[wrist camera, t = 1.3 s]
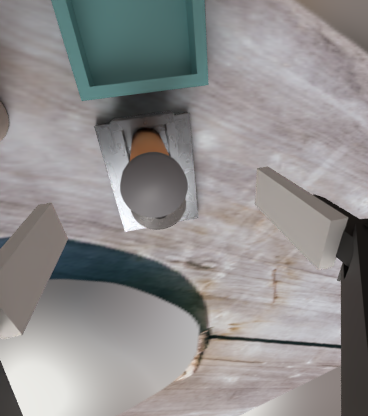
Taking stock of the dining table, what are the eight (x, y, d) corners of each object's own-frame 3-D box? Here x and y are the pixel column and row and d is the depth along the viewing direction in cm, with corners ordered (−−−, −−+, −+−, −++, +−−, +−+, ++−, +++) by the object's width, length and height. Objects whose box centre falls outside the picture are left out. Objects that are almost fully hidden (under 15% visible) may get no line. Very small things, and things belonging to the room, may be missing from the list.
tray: (88, 99, 27) (81, 100, 24) (39, -71, 20) (20, -103, 17) (199, 85, 29) (208, 84, 25) (189, -78, 22) (199, -109, 18)
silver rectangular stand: (125, 226, 37) (123, 245, 32) (94, 119, 28) (86, 126, 24) (196, 213, 38) (204, 230, 34) (186, 107, 30) (195, 111, 25)
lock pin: (132, 164, 31) (128, 222, 18) (123, 126, 28) (112, 161, 15) (168, 159, 31) (190, 211, 18) (162, 121, 29) (184, 150, 16)
